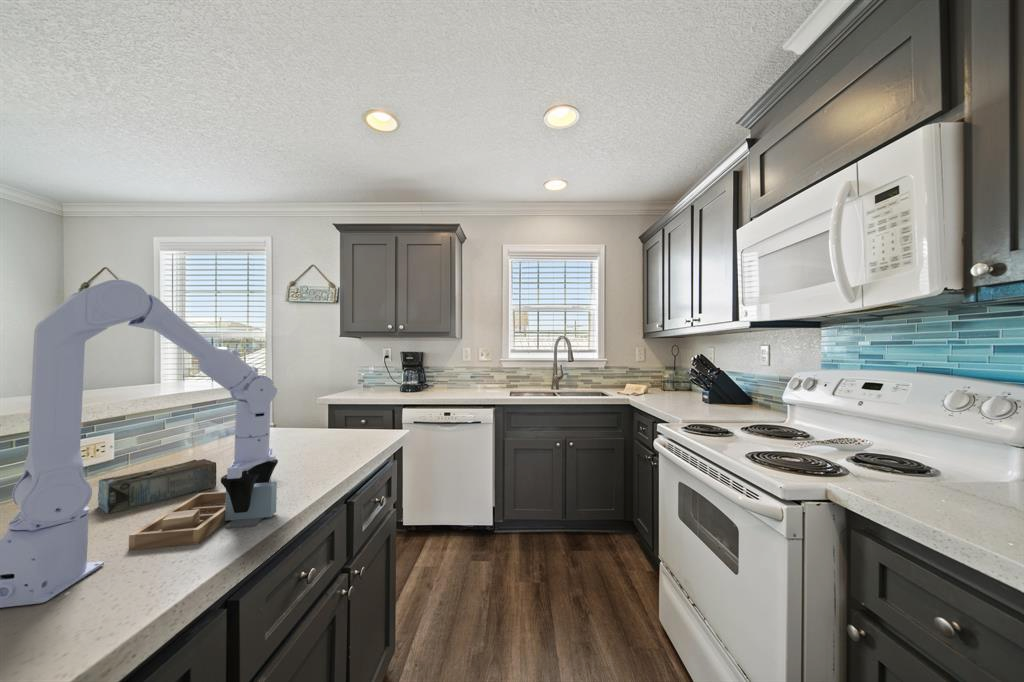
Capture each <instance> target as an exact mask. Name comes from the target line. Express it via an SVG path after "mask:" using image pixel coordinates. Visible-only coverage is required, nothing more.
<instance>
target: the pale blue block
mask: <svg viewBox="0 0 1024 682" xmlns="http://www.w3.org/2000/svg"><path fill="white" fill-rule="evenodd" d="M277 485H278V481H272V482H271V481H269V482H268V483H255V484H254V487H253V490H252V495H251V502H250V507H249V510H248V511H247V512H244V513H234V510H233V506H232V503H231V499H230V496H229V494H228V492H227V490H226V489H225V492H226V500H225V504H224V505H225V521H226V520H227V521H232V520H239V519H251V518H263V519H265V518H272V517H273V516H274V514H275V513H276V512H277V498H278V497H277V493H278V487H277ZM227 521H226V522H227Z"/></svg>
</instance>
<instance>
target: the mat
mask: <svg viewBox="0 0 1024 682" xmlns="http://www.w3.org/2000/svg"><path fill="white" fill-rule="evenodd" d="M263 519H264V518H251V519H239V520H230V522H229V523H227V524H226V525H225V526H224V527H225V529H236V528H245V527H256V526H257V525H258V524H259V523H260V522H261V521H262V520H263Z"/></svg>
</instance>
